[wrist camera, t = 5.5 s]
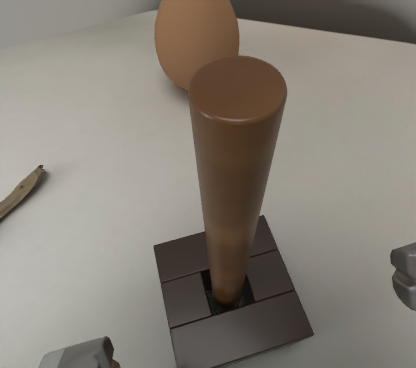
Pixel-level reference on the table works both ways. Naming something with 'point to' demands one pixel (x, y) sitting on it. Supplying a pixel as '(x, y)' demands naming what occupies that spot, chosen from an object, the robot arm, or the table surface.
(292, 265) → the table surface
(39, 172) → the jawbone
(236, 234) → the stick
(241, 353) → the stand
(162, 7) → the egg
